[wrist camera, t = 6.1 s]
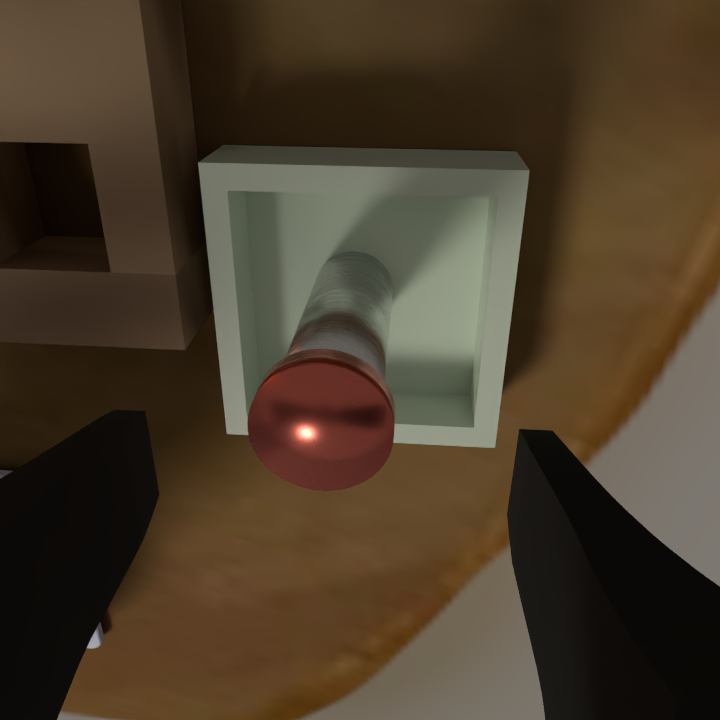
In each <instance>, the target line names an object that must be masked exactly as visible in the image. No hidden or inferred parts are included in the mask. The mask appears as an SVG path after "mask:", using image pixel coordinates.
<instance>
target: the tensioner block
mask: <svg viewBox="0 0 720 720" xmlns="http://www.w3.org/2000/svg"><path fill="white" fill-rule="evenodd" d="M25 142H34V143H79V144H88V148H89V154H90V159H91V165H92V170H93V176H94V181H95V187H96V193H97V198H98V204H99V209H100V215H101V220H102V226H103V231H104V237H74V236H46V235H45V230H44V226H43V222H42V217H41V213H40V208H39V204H38V199H37V195H36V190H35V186H34V181H33V177H32V172H31V168H30V163H29V159H28V154H27V150H26V145H25ZM213 309H214V308H213V299H212V290H211V280H210V271H209V261H208V252H207V242H206V233H205V223H204V214H203V204H202V195H201V186H200V176H199V167H198V154H197V144H196V135H195V126H194V116H193V107H192V97H191V88H190V78H189V69H188V59H187V50H186V40H185V31H184V21H183V12H182V2H181V0H0V342H7V343H30V344H53V345H77V346H100V347H123V348H146V349H169V350H186V348H187V347H188V345H189V344H190V343H191V341H192V340H193V338H194V337H195V335H196V334H197V332H198V331H199V329H200V328H201V327H202V325H203V324H204V322H205V321H206V319H207V318H208V316H209V315H210V313H211V312H212V311H213Z"/></svg>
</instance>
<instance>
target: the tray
mask: <svg viewBox="0 0 720 720" xmlns="http://www.w3.org/2000/svg"><path fill="white" fill-rule="evenodd" d="M198 167H199V176H200V186H201V195H202V204H203V214H204V223H205V233H206V242H207V252H208V261H209V271H210V280H211V290H212V299H213V308H214V318H215V327H216V337H217V346H218V356H219V365H220V375H221V384H222V393H223V403H224V412H225V422H226V431H227V434H236V435H249V434H248V425H247V421H248V414H249V410H250V406H251V404H252V402H253V399H254V397H255V395H256V392H257V390H258V388H259V385H260V383H261V381H262V379H263V378H264V376H265V375H266V373H267V372H268V371H269V370H270V369H271V367H272V366H274V365H275V364H276V363H277V362H278V361H280V360H282V359H283V358H285V357H286V355H287V353H288V350H289V347H290V345H291V342H292V340H293V337H294V334H295V332H296V329H297V327H298V324H299V322H300V319H301V316H302V314H303V311H304V309H305V306H306V304H307V301H308V298H309V296H310V293H311V291H312V288H313V286H314V283H315V280H316V278H317V275H318V273H319V271H320V269H321V268H322V266H323V265H324V264H325V263H326V262H327V261H328V260H329V259H330V258H332V257H334V256H336V255H338V254H341V253H344V252H353V251H354V252H362V253H366V254H369V255H371V256H373V257H375V258H376V259H378V260H379V261H380V262H381V263H382V264H383V265H384V266H385V267H386V269H387V270H388V272H389V274H390V276H391V278H392V282H393V299H392V309H391V320H390V330H389V340H388V350H387V361H386V371H385V382H386V383H387V385H388V387H389V389H390V391H391V393H392V396H393V399H394V404H395V427H394V441H393V443H410V444H429V445H448V446H468V447H487V448H495V443H496V435H497V427H498V419H499V411H500V403H501V395H502V387H503V379H504V371H505V363H506V355H507V347H508V339H509V331H510V323H511V315H512V308H513V300H514V292H515V284H516V276H517V268H518V260H519V252H520V244H521V236H522V228H523V220H524V212H525V204H526V196H527V188H528V180H529V172H530V170H529V169H528V167H527V166H526V164H525V163H524V161H523V160H522V158H521V157H520V156H519V154H518V153H517V151H476V150H430V149H385V148H340V147H295V146H250V145H223V146H221V147H220V148H218V149H217V150H215V151H214V152H213V153H211V154H210V155H208V156H207V157H205V158H204V159H202V160H201V161H200V162H198Z"/></svg>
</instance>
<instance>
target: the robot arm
mask: <svg viewBox="0 0 720 720" xmlns="http://www.w3.org/2000/svg"><path fill="white" fill-rule="evenodd" d="M158 497H159V489H158V484H157V478H156V472H155V466H154V460H153V454H152V449H151V443H150V437H149V431H148V425H147V419H146V413H145V411H129V410H114V411H112V412H110V413H108V414H106V415H104V416H102V417H101V418H99V419H97V420H96V421H94V422H92V423H91V424H89V425H87V426H86V427H84V428H82V429H81V430H79V431H78V432H76V433H75V434H73V435H71V436H70V437H68V438H67V439H65V440H63V441H62V442H60V443H59V444H57V445H55V446H54V447H52V448H51V449H49V450H47V451H46V452H44V453H43V454H41V455H39V456H38V457H36V458H34V459H33V460H31V461H30V462H28V463H26V464H25V465H23V466H21V467H19V468H18V469H16V470H14V471H9V470H0V720H57V718H58V715H59V713H60V710H61V708H62V705H63V703H64V700H65V698H66V695H67V693H68V690H69V688H70V685H71V683H72V680H73V678H74V675H75V673H76V671H77V668H78V666H79V663H80V661H81V659H82V657H83V655H84V652H85V650H86V648H97V647H99V646H100V645H101V643H102V641H103V639H104V634H103V631H102V627H101V623H100V621H101V619H102V617H103V615H104V613H105V612H106V610H107V608H108V606H109V604H110V602H111V600H112V598H113V597H114V595H115V593H116V591H117V589H118V587H119V585H120V583H121V582H122V580H123V578H124V576H125V574H126V572H127V570H128V568H129V566H130V564H131V563H132V561H133V559H134V557H135V555H136V553H137V551H138V549H139V547H140V545H141V543H142V541H143V539H144V536H145V534H146V531H147V528H148V526H149V523H150V520H151V518H152V515H153V512H154V509H155V506H156V503H157V500H158ZM507 517H508V528H509V538H510V547H511V556H512V564H513V568H514V573H515V576H516V581H517V585H518V590H519V594H520V598H521V603H522V607H523V611H524V615H525V620H526V624H527V628H528V632H529V636H530V640H531V645H532V649H533V653H534V658H535V662H536V666H537V670H538V676H539V681H540V685H541V691H542V697H543V705H544V712H545V720H720V587H719V586H718V585H717V584H715V583H714V582H712V581H711V580H710V579H708V578H707V577H705V576H704V575H703V574H701V573H700V572H699V571H697V570H696V569H695V568H693V567H692V566H691V565H690V564H688V563H687V562H686V561H684V560H683V559H682V558H681V557H679V556H678V555H677V554H676V553H674V552H673V551H672V550H670V549H669V548H668V547H667V546H665V545H664V544H663V543H662V542H661V541H660V540H658V539H657V538H656V537H655V536H653V534H651V533H650V532H649V531H648V530H647V529H646V528H645V527H644V526H643V525H641V524H640V523H639V522H638V521H637V520H636V519H635V518H634V517H633V516H632V515H631V514H629V513H628V512H627V511H626V510H625V509H624V508H623V507H622V506H621V505H620V504H619V503H618V502H617V501H616V500H615V499H614V498H613V497H612V496H611V495H610V494H609V493H608V492H607V491H606V490H605V488H603V486H602V485H601V484H600V483H599V482H598V481H597V480H596V479H595V478H594V477H593V476H592V475H591V474H590V472H589V471H588V470H587V469H586V468H585V467H584V466H583V465H582V463H581V462H580V461H579V460H578V459H577V458H576V457H575V456H574V454H573V453H572V452H571V451H570V450H569V449H568V448H567V446H566V445H565V444H564V443H563V442H562V441H561V440H560V439H559V437H558V436H557V435H556V434H555V433H554V432H553V431H547V430H527V429H519V435H518V442H517V449H516V456H515V463H514V470H513V477H512V484H511V491H510V498H509V505H508V512H507Z"/></svg>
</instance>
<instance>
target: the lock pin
mask: <svg viewBox="0 0 720 720" xmlns="http://www.w3.org/2000/svg"><path fill="white" fill-rule="evenodd" d="M392 299H393V282H392V278H391V276H390V274H389V272H388V270H387V269H386V267H385V266H384V265H383V264H382V263H381V262H380V261H379V260H378V259H376V258H375V257H373V256H371V255H369V254H366V253H362V252H354V251H353V252H344V253H341V254H338V255H336V256H334V257H332V258H330V259H329V260H328V261H327V262H326V263H325V264H324V265H323V266H322V268H321V269H320V271H319V273H318V275H317V278H316V280H315V283H314V286H313V288H312V291H311V293H310V296H309V298H308V301H307V304H306V306H305V309H304V311H303V314H302V316H301V319H300V322H299V324H298V327H297V329H296V332H295V334H294V337H293V340H292V342H291V345H290V347H289V350H288V353H287V355H286V357H285V358H283V359H282V360H280V361H278V362H277V363H276V364H275V365H274V366H272V367H271V369H270V370H269V371H268V372H267V373H266V375H265V376H264V378H263V379H262V381H261V383H260V385H259V388H258V390H257V392H256V395H255V397H254V399H253V402H252V404H251V406H250V410H249V414H248V421H247V425H248V434H249V439H250V441H251V444H252V447H253V449H254V451H255V453H256V454H257V456H258V457H259V458H260V460H261V461H262V462H263V463H264V464H265V466H266V467H267V468H269V469H270V470H271V471H272V472H273V473H275V474H276V475H277V476H279V477H280V478H282V479H284V480H286V481H288V482H290V483H292V484H295V485H297V486H300V487H304V488H308V489H313V490H323V491H329V490H340V489H345V488H349V487H352V486H355V485H358V484H360V483H362V482H364V481H366V480H367V479H369V478H370V477H372V476H373V475H374V474H375V473H377V472H378V471H379V470H380V469H381V467H382V466H383V465H384V464H385V462H386V460H387V459H388V457H389V455H390V452H391V450H392V446H393V441H394V427H395V404H394V399H393V396H392V393H391V391H390V389H389V387H388V385H387V383H386V382H385V371H386V361H387V350H388V340H389V330H390V320H391V309H392Z"/></svg>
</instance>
